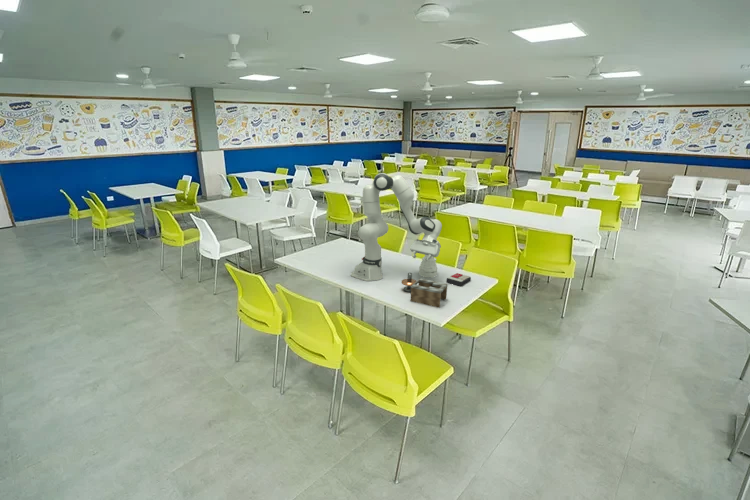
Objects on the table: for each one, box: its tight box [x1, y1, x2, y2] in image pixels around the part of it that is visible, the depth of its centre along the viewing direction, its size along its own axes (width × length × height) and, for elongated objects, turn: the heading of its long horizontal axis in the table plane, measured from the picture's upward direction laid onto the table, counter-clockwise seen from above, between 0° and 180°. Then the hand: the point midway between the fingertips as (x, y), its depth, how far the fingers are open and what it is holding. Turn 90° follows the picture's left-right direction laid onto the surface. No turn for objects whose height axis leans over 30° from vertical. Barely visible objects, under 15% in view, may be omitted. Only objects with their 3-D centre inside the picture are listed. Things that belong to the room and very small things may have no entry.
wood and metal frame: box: [410, 277, 448, 308], centre depth 231 cm, size 18×14×10 cm
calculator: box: [446, 272, 472, 288], centre depth 262 cm, size 11×4×15 cm
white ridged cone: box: [418, 255, 438, 278], centre depth 272 cm, size 13×13×18 cm
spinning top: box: [401, 272, 417, 293], centre depth 244 cm, size 10×10×12 cm
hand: (420, 259), depth 250 cm, fingers open, 8 cm apart
